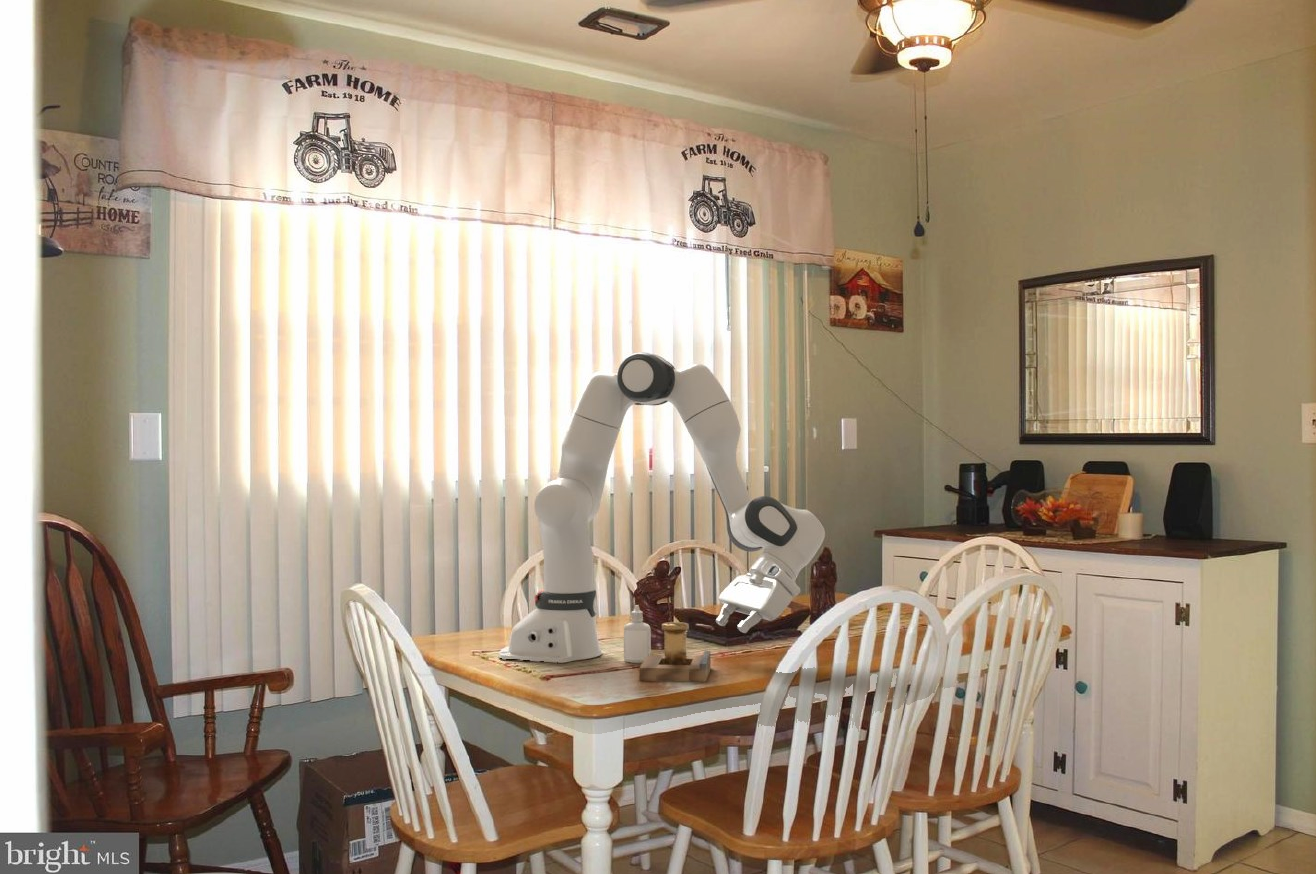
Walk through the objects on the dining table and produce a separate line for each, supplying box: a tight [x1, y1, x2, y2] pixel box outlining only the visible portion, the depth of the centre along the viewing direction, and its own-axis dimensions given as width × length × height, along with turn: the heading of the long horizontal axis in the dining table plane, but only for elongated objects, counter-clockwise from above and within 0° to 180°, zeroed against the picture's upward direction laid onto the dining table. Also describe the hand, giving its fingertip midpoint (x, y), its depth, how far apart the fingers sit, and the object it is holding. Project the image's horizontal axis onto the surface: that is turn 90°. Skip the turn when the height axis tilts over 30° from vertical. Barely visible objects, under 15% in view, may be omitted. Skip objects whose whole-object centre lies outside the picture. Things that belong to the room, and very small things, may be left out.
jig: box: [638, 650, 711, 683], centre depth 207 cm, size 13×13×4 cm
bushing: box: [661, 621, 690, 665], centre depth 208 cm, size 5×5×10 cm
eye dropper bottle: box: [623, 604, 652, 664], centre depth 221 cm, size 4×6×12 cm
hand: (729, 627), depth 212 cm, fingers open, 8 cm apart
